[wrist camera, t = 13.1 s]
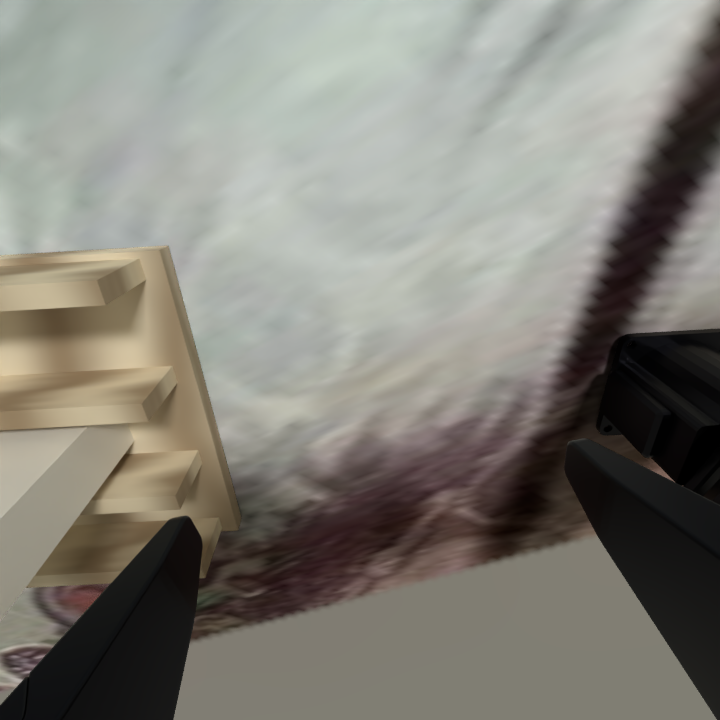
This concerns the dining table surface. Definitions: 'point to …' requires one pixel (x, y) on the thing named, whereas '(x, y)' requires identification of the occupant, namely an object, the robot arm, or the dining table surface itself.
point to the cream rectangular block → (48, 492)
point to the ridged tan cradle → (114, 398)
